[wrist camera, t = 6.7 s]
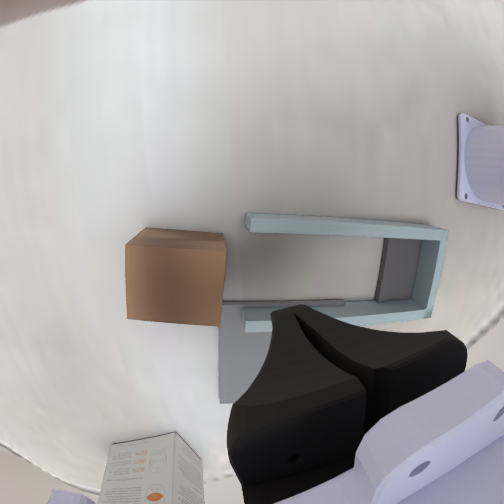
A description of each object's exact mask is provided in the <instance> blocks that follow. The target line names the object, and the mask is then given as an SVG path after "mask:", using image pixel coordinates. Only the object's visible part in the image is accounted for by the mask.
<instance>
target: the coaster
mask: <svg viewBox="0 0 504 504" xmlns="http://www.w3.org/2000/svg"><path fill="white" fill-rule="evenodd" d="M299 304H304V305H306V306H308V307H321V306H342V305H345V302H344V301H343V300H342V299H334V300H305V301H223V302H222V314H221V326H219V392H220V404H226V403H235V402H236V401H237V400H238V399H239V398H240V397H241V396H242V395H243V394H244V393H245V392H246V391H247V389H248V388H249V387H250V385H251V384H252V382H253V381H254V380H255V378H256V377H257V375H258V373H259V371H260V369H261V367H262V365H263V363H264V361H265V358H266V356H267V353H268V350H269V346H270V342H271V337H272V332H245V330H244V326H243V322H242V308H287V307H291V306H295V305H299Z"/></svg>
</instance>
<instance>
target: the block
mask: <svg viewBox="0 0 504 504" xmlns="http://www.w3.org/2000/svg"><path fill="white" fill-rule="evenodd" d="M226 255H227V251H226V247H225V242H224V238H223V233H211V232H198V231H185V230H171V229H157V228H145V229H144V230H143V231H141V232H140V233H139V234H138V235H136V236H135V237H134V238H133V239H132V240H130V241H129V242H128V243H127V244H126V245H125V277H126V304H127V319H134V320H144V321H154V322H165V323H177V324H191V325H206V326H221V314H222V302H223V290H224V278H225V266H226Z"/></svg>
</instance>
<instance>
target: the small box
mask: <svg viewBox="0 0 504 504" xmlns="http://www.w3.org/2000/svg"><path fill="white" fill-rule="evenodd" d="M204 503H205V502H204V488H203V468H202V460H201V459H200V458H199V457H198V456H197V455H196V454H195V453H194V452H193V451H192V450H191V449H190V447H189V446H188V445H187V444H186V443H185V442H184V441H183V440H182V439H181V437H180V436H179V435H178V434H177V433H176V432H174V433H170V434H166V435H161V436H157V437H152V438H147V439H142V440H136V441H131V442H125V443H119V444H113V445H112V446H111V449H110V453H109V457H108V461H107V465H106V469H105V473H104V477H103V482H102V486H101V491H100V495H99V500H98V504H204Z"/></svg>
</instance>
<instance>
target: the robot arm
mask: <svg viewBox="0 0 504 504" xmlns="http://www.w3.org/2000/svg"><path fill="white" fill-rule="evenodd" d="M458 123H459V166H458V185H457V198H458V200H459V201H464V202H468V203H473V204H478V205H482V206H487V207H491V208H495V209H499V210H503V211H504V125H492V126H488V125H486V124H484V123H482V122H480V121H479V120H477V119H475V118H473V117H471V116H469V115H466V114H464V113H460V114H459V115H458ZM464 196H465V197H464ZM270 316H271V322H272V337H271V342H270V346H269V350H268V353H267V356H266V358H265V361H264V363H263V365H262V367H261V369H260V371H259V373H258V375H257V377H256V378H255V380H254V381H253V382H252V384H251V385H250V387H249V388H248V389H247V391H246V392H245V393H244V394H243V395H242V396H241V397H240V398H239V399H238V400H237V401H236V402H235V403H234V404H233V405H232V409H231V413H230V417H229V423H228V430H227V448H228V455H229V460H230V463H231V465H232V468H233V469H234V471H235V473H236V475H237V477H238V479H239V481H240V483H241V485H242V491H243V496H244V503H245V504H504V372H503V371H502V370H501V369H499V368H498V367H497V366H496V365H494V364H493V363H491V362H490V361H489V360H487V361H485V362H482V363H479V364H477V365H474V366H472V367H471V368H469V369H468V370H466V371H465V367H466V362H467V348H466V346H465V345H464V343H463V342H462V341H460V340H459V339H458V338H456V337H455V336H453V335H452V334H451V333H449V332H448V331H446V330H444V331H434V332H424V333H399V332H387V331H379V330H373V329H368V328H364V327H360V326H356V325H352V324H349V323H346V322H343V321H340V320H338V319H335V318H333V317H330V316H328V315H326V314H323V313H321V312H319V311H317V310H315V309H313V308H310V307H308V306H306V305H304V304H299V305H295V306H291V307H287V308H283V309H279V310H275V311H272V313H271V314H270ZM48 504H95V502H94V501H92V500H91V499H90V498H88V497H87V496H84V495H82V494H79V493H74V492H68V491H62V490H57V489H53V490H52V492H51V495H50V498H49V501H48Z"/></svg>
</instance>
